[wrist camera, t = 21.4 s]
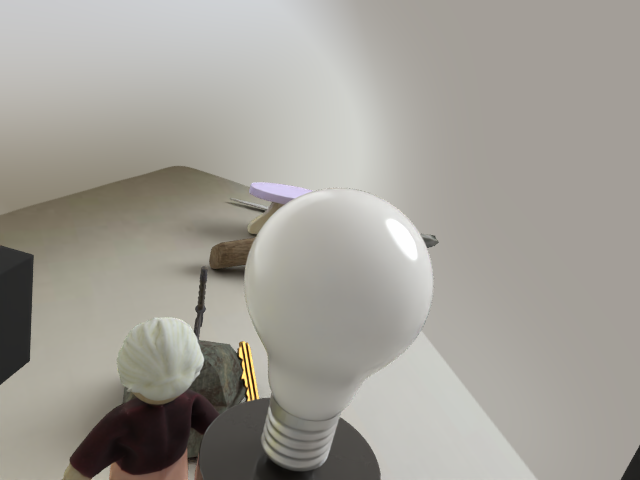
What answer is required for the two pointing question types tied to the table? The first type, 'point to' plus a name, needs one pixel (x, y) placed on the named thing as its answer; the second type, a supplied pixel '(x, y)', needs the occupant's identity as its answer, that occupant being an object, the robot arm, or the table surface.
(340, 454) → the jar
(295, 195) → the toy table
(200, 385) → the sword in stone
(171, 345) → the grandmother figurine
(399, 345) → the lightbulb
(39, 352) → the table surface
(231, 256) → the stone tool
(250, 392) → the key
